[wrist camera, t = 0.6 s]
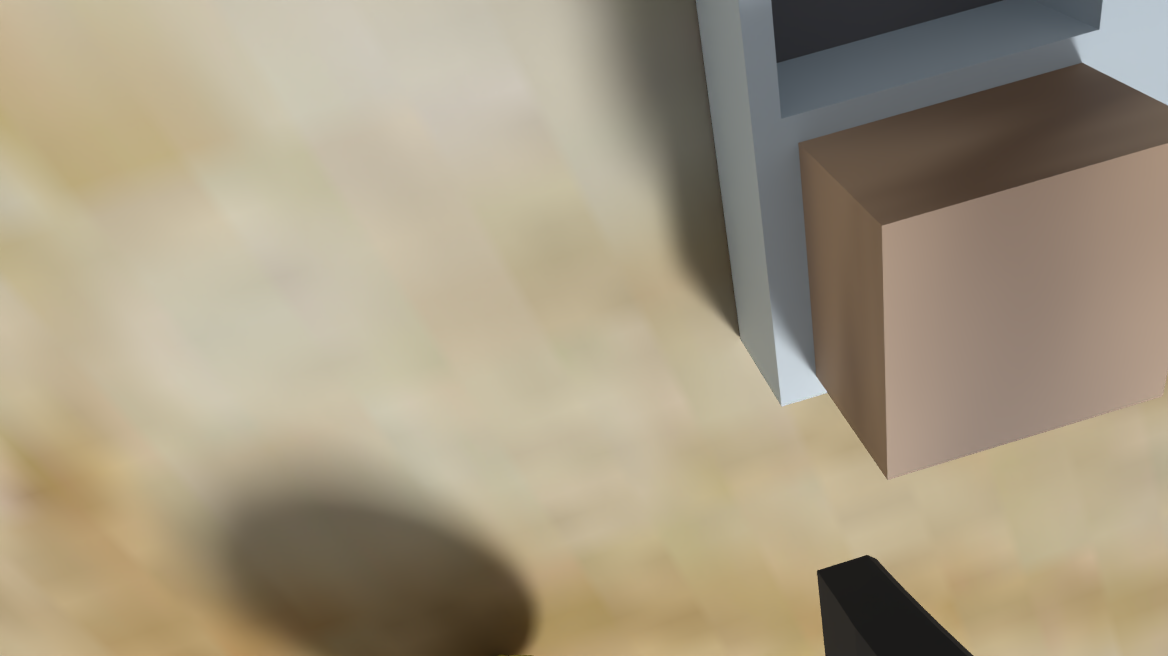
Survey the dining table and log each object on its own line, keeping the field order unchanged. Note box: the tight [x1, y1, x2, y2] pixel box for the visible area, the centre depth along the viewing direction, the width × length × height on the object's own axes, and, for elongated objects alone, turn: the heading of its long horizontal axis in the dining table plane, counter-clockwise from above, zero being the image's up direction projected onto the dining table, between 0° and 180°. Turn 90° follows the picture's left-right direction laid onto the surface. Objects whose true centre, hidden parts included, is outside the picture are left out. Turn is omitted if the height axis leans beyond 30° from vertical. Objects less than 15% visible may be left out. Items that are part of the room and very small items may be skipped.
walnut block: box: [798, 63, 1168, 480], centre depth 16 cm, size 5×5×3 cm
